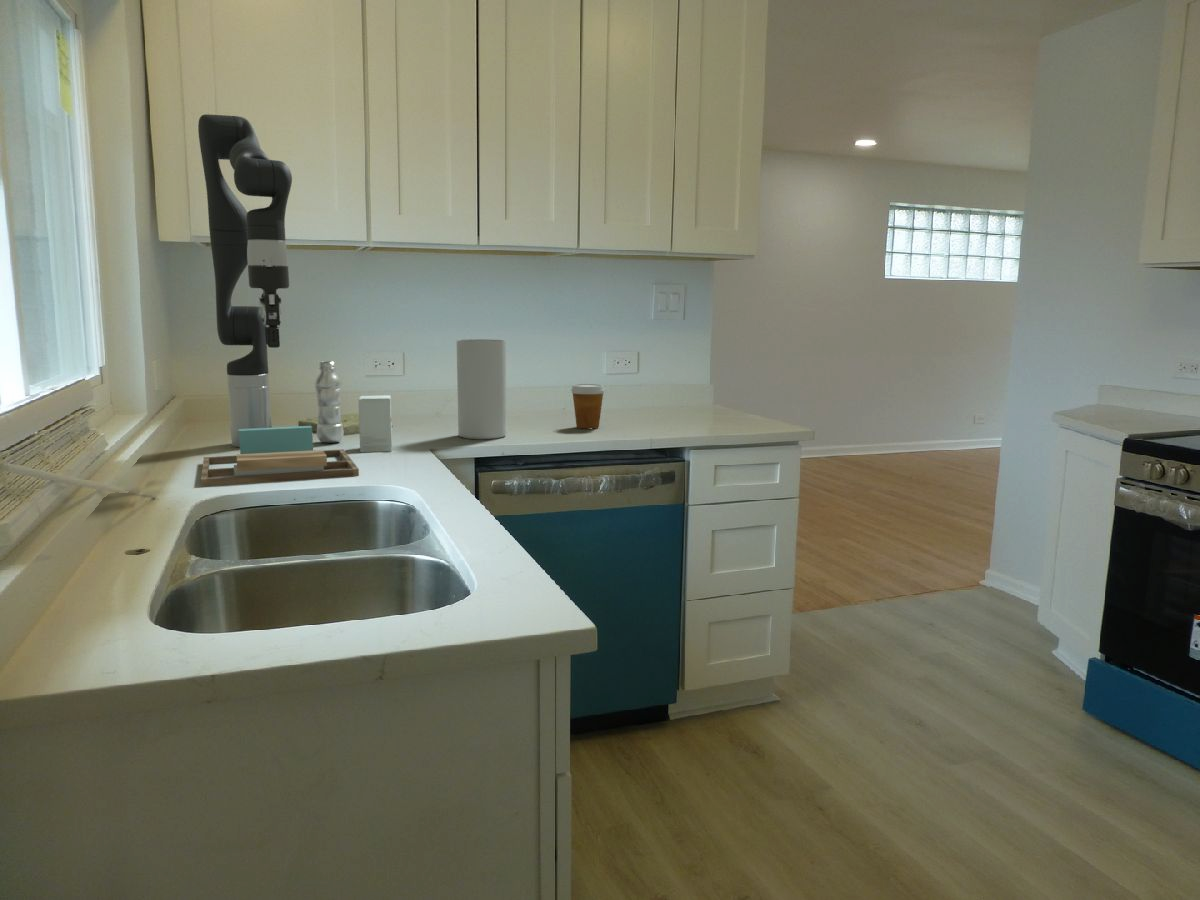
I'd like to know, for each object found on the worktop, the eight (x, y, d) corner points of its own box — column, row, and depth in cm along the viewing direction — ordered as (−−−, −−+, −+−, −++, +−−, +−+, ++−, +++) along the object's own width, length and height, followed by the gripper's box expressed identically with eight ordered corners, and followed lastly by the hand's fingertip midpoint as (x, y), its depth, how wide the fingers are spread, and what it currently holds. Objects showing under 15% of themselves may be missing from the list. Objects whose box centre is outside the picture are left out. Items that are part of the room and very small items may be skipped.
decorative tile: (339, 438, 223) (339, 424, 222) (297, 430, 235) (296, 417, 235) (397, 430, 237) (397, 417, 236) (355, 423, 249) (354, 411, 249)
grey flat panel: (234, 474, 166) (233, 464, 166) (320, 469, 172) (320, 459, 172) (234, 482, 160) (233, 471, 159) (324, 476, 166) (323, 466, 166)
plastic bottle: (343, 439, 217) (339, 360, 213) (345, 444, 211) (341, 362, 207) (316, 441, 215) (312, 361, 211) (317, 445, 208) (313, 363, 205)
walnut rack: (204, 469, 178) (203, 457, 178) (343, 460, 189) (343, 449, 189) (201, 492, 156) (200, 479, 156) (359, 481, 167) (358, 468, 167)
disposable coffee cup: (565, 428, 239) (566, 386, 237) (577, 424, 248) (577, 383, 246) (598, 430, 236) (598, 387, 234) (608, 426, 245) (609, 384, 243)
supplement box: (392, 451, 201) (390, 398, 198) (359, 452, 199) (357, 398, 197) (393, 446, 208) (391, 394, 206) (361, 447, 206) (359, 395, 204)
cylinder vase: (516, 436, 225) (515, 340, 220) (477, 441, 216) (475, 342, 212) (487, 431, 233) (485, 338, 229) (448, 435, 225) (446, 340, 221)
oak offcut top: (237, 464, 166) (236, 454, 166) (323, 459, 172) (322, 449, 172) (237, 471, 160) (236, 460, 159) (327, 465, 166) (326, 455, 166)
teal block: (241, 472, 176) (238, 429, 174) (313, 467, 181) (310, 425, 180) (241, 474, 173) (238, 430, 172) (314, 470, 179) (312, 427, 177)
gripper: (246, 264, 175) (251, 344, 178) (248, 262, 162) (254, 348, 165) (285, 265, 178) (289, 343, 181) (290, 263, 165) (295, 348, 168)
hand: (272, 346), depth 173 cm, fingers open, 8 cm apart
